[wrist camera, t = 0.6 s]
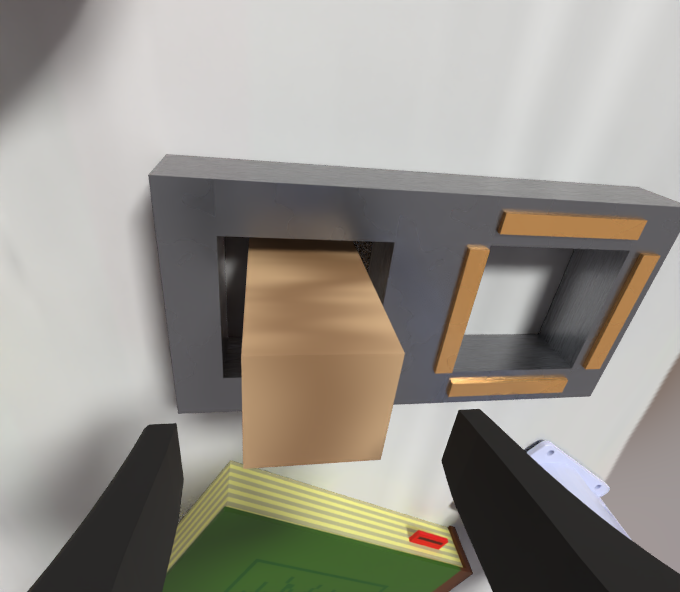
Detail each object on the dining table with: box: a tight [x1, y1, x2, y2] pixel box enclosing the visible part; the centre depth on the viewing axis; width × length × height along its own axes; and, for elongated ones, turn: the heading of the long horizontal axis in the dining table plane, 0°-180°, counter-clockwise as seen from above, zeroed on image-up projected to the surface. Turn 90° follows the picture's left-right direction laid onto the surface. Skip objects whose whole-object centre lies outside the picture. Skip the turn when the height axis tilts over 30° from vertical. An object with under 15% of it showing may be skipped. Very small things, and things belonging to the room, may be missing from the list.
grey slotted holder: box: [148, 154, 680, 414], centre depth 18 cm, size 20×10×3 cm, turn 84°
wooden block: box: [241, 237, 405, 469], centre depth 15 cm, size 4×4×8 cm
